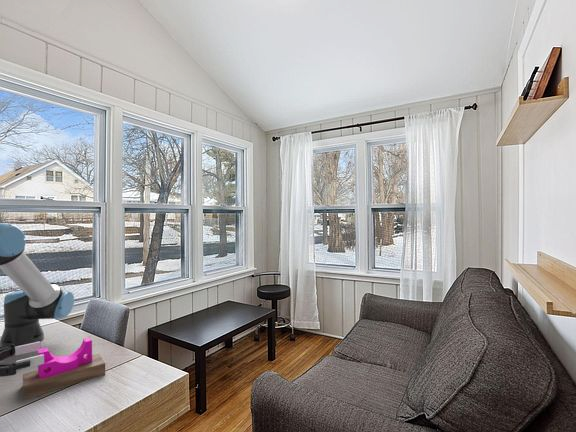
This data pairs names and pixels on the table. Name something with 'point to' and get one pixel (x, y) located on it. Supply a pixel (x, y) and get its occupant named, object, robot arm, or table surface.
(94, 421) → the table surface
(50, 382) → the base brick
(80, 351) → the toy block
